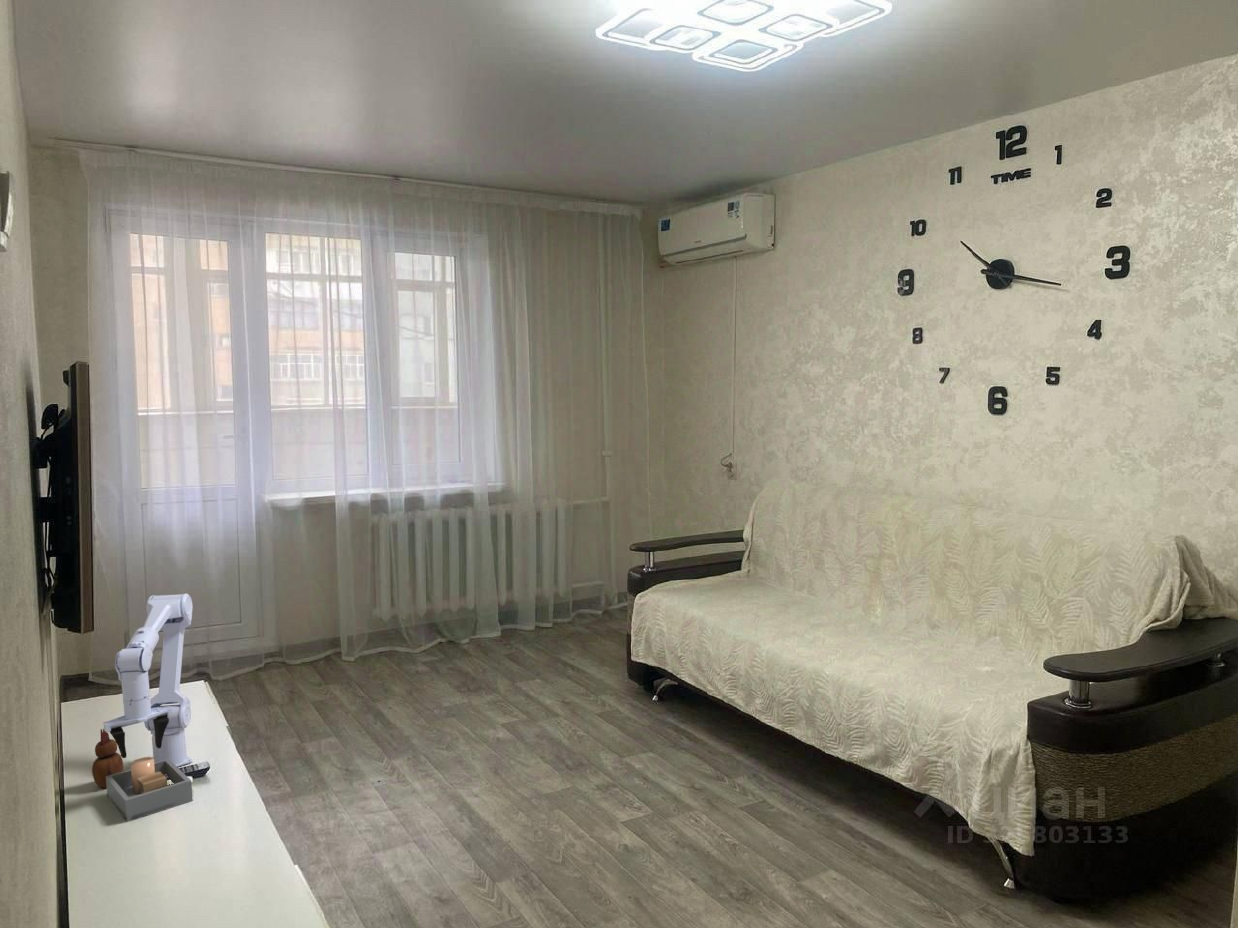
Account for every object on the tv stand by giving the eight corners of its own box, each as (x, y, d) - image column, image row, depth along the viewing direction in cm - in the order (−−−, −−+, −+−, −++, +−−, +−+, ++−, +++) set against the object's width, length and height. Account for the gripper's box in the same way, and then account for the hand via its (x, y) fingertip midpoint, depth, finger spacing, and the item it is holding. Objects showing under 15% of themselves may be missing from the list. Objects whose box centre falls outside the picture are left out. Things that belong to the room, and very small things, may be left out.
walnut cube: (138, 798, 211) (137, 778, 210) (161, 791, 214) (160, 771, 214) (145, 805, 207) (143, 784, 207) (168, 797, 211) (166, 777, 210)
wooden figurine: (109, 791, 218) (103, 732, 216) (88, 789, 219) (83, 731, 217) (129, 779, 224) (124, 721, 223) (109, 777, 225) (104, 720, 224)
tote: (107, 796, 215) (105, 776, 214) (169, 777, 224) (168, 758, 224) (127, 821, 202) (125, 800, 201) (192, 800, 211) (190, 780, 211)
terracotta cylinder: (130, 789, 216) (128, 761, 215) (153, 782, 219) (150, 755, 219) (136, 796, 212) (133, 767, 212) (158, 789, 216) (156, 761, 215)
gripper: (106, 709, 206) (111, 766, 207) (174, 693, 216) (178, 747, 217) (99, 702, 211) (104, 757, 212) (165, 686, 221) (169, 739, 222)
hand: (141, 751), depth 215 cm, fingers open, 7 cm apart
